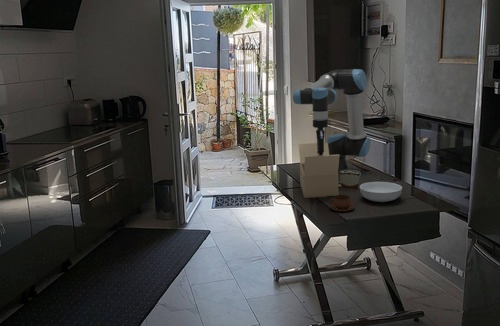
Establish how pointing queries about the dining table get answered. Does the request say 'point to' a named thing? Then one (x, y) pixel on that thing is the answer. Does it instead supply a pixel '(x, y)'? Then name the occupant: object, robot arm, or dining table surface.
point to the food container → (349, 179)
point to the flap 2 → (321, 165)
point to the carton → (318, 184)
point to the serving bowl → (380, 191)
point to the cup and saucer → (341, 203)
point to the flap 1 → (310, 150)
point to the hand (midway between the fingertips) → (320, 164)
